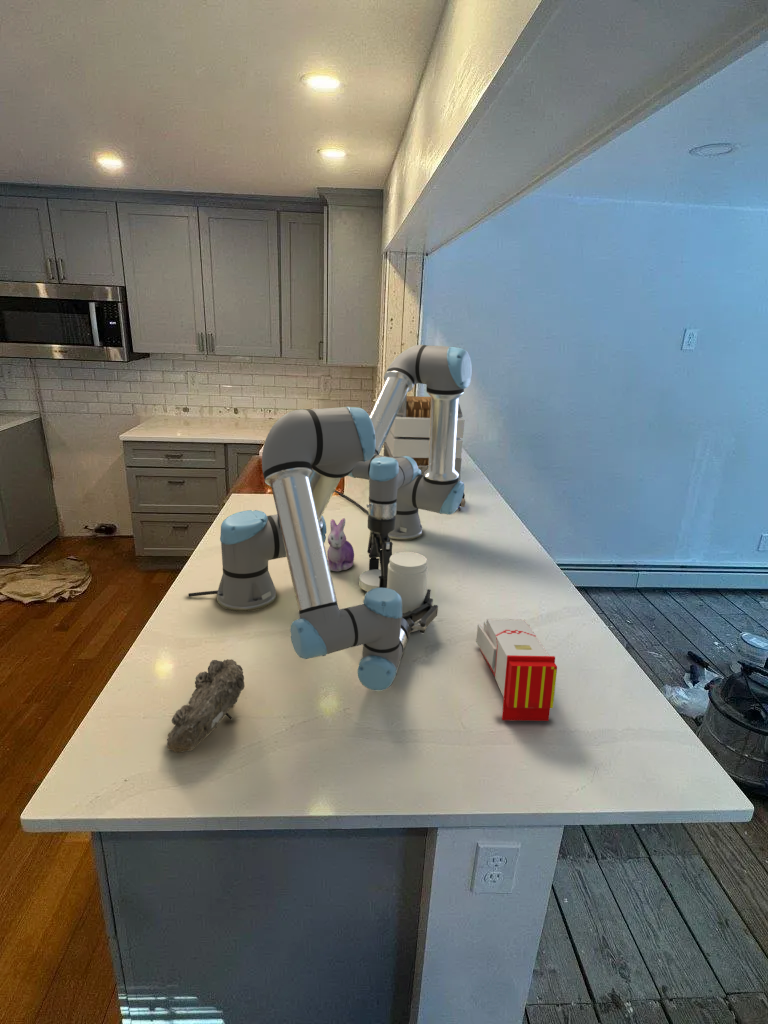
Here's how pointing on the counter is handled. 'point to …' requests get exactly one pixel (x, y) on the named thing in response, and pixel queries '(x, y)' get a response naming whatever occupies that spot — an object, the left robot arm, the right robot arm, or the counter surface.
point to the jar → (408, 579)
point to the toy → (519, 668)
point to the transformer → (418, 432)
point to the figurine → (339, 548)
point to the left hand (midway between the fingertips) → (408, 591)
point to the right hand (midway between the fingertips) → (378, 588)
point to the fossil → (206, 705)
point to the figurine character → (462, 502)
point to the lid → (370, 579)
